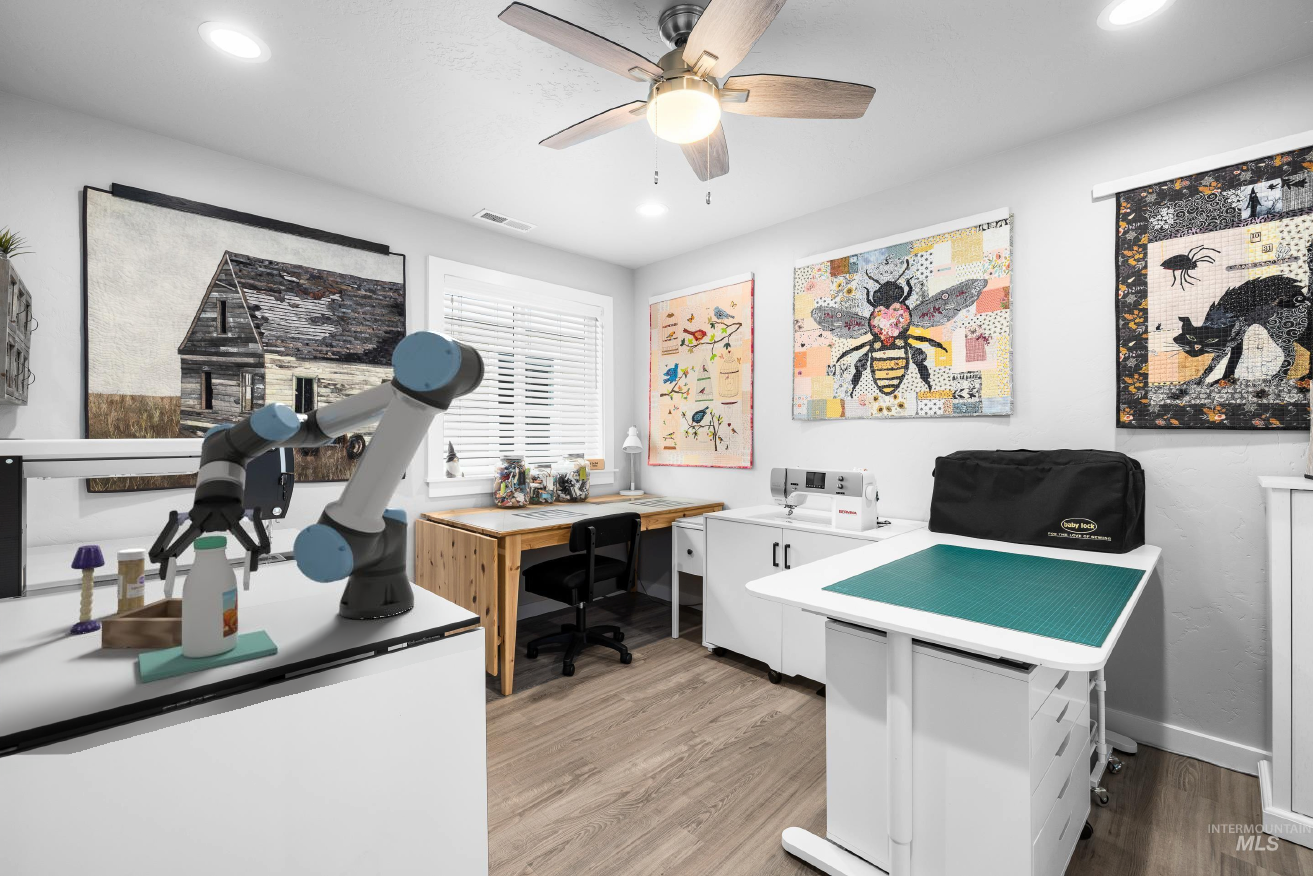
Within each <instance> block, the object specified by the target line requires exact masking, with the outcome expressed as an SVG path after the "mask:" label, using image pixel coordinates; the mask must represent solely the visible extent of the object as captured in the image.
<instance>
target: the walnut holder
mask: <svg viewBox="0 0 1313 876" xmlns="http://www.w3.org/2000/svg"><path fill="white" fill-rule="evenodd" d="M180 646H182V597H172V599H166V598H163V599H162V598H161V599H159V600H157V601H153V602H152V603H148V604H144V606H142V607H139V608H136V609H133V610H130V611H128V612H125V613H122V614H119V613H118V614H116V615H114V616H113V615H112V616H111V617H108V618H104V619H103V620H101V647H130V648H129V649H169V648H171V647H172V648H175V647H180ZM101 647H100V648H101Z"/></svg>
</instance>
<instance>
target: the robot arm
mask: <svg viewBox="0 0 1313 876" xmlns="http://www.w3.org/2000/svg"><path fill="white" fill-rule="evenodd" d="M391 366H392V368H393V370H392V372H393V374H394V375H393V377H392V379H391V380H388V381H386V382H384V383H380V384H378V385H375V386H373V387H370V388H367V389H365V390H363V391H359V392H357V393H354V394H352V395H348V396H347V397H343V398H342V399H339V400H336V401H333V402H331V403H329V404H325V405H324V406H321V407H319V408H315V409H313V410H311V411H307V412H304V413H301V412H299V413H298V412H295V411H294V409H292V408H291V407H290V406H288V405H285V404H284V403H282V402H277V401H276V402H271V403H268V404H267V405H265V406H262V407H259V409H256V410H255V411H254V412H252V413H251V414H250V415H248V416H246V417H244V418H243V419H242V420H241V421H238V422H237V423H235V424H233V423H223V424H221V425H220V424H219V425H218V424H217V425H216V424H215V426H212V427H210V428H209V429H208V430H207V431H206V433H205V435H204V439H203V442H202V443H201V452H200V453H201V454H200V460H199V467H198V470H199V471H198V474H197V480H196V488H195V492H194V497H193V505H192V508H191V509H190V510H189V511H187V512H186V511H185V512H178V510H176V509H175V510H173V509H172V510H170V511H169V513H168V522H166V524H165V526H163V529H162V530H161V532H160V534H159V535H158V537H157V538H156V540H155V541H154V543H153V544H152V546H151V548H150V549H149V551H148V553H147V554H148V558H149V561H150V564H154V565H155V564H159V569H158V570H159V571H158V576H159V579H160V581H164V587H163V593H164V597H165V598H166V599H172V598H173V593H174V587H175V581H176V574H177V571H178V570H177V569H178V563H177V560H178V558H179V557H180V556H181V555H182V554H183V553H184V552H185V550H187V549H188V548H189V547H190V546H191V545H193V544H194V540H195V539H197V538H201V537H202V536H203V535H204V533H206V534H209V533H215V532H220V533H222V532H229V533H230V534H231V535H232V536H234V537H235V539H236V540H237V541H238V542H239V544H240V545H241V546H242V548H243V549H245V553H244V555H245V556H244V565H243V566H244V567H243V577H242V578H243V579H242V580H243V581H242V584H243V585H242V586H243V591H246V592H247V591H250V582H251V581H250V580H251V572H252V573H254V572H258V570H259V561H260V559H259V558H260V557H261V556H262V555H269V554H271V553H272V552H271V551H272V548H271V547H272V546H271V544H272V543H271V542H270V539H269V537H268V533H267V531H266V528H265V525H264V523H263V520H262V518H263V517H262V513H263V512H262V507H261V506H256V507H254V508H253V509H246V508H245V507H244V499H245V488H246V487H245V486H246V476H247V475H246V474H247V465H248V463H249V462H251V461H253V460H254V459H257V458H258V457H260V456H262V455H263V454H264V453H266V452H267V451H270V450H272V449H274V448H275V449H276V448H277V449H279V448H281V449H282V448H319V447H324V446H328V445H331V444H332V443H333V442H334V441H335V440H336V438H338V437H341V436H343V435H347V434H349V433H352V432H354V431H358V430H360V429H362V428H365V427H368V426H370V425H374V424H375V423H376V424H377V423H378V424H377V426H376V428H375V429H374V431H373V434H372V436H371V437H370V439H369V441H368V443H367V445H366V447H365V448H364V451H363V452H362V455H361V456H360V458H359V460H358V462H357V464H356V466H355V467H354V469H353V471H352V474H351V475H350V477H349V479H348V481H347V482H346V485H345V486H344V488H343V490H342V493H341V494H340V497H339V498H338V499H337V500H334V501H330V502H328V503H327V504H326V505H325V507H324V509H323V510H322V512H321V514H320V516H319V518H318V520H317V522H316V523H314V524H310V525H308V526H307V527H305V528H303V529H302V530H301V531H300V532H299V533H298V535H297V536H296V537H295V540H294V542H293V547H292V549H293V550H292V552H293V553H292V554H293V559H294V560H295V561H296V566H297V568H298V570H299V571H300V572H301V573H302V574H303V575H304V576H305V577H306V578H308V579H309V580H311V581H313V582H316V583H320V584H328V583H333V582H337V581H342V580H345V579H346V578H347V581H346V584H345V587H344V589H343V592H342V595H341V598H340V601H339V604H338V605H339V609H338V611H339V613H340V614H339V613H338V614H339V616H341V617H342V616H344V617H343V618H345V617H348V618H347V619H350V618H374V617H380V616H388V615H393V614H396V613H399V612H402V611H405V610H408V609H409V608H411V607H412V606H413V605H414V606H415V594H414V591H413V588H412V585H411V583H410V580H409V577H408V574H407V552H408V551H407V549H408V547H407V546H408V545H407V543H408V542H407V541H408V524H409V523H408V517H407V512H406V510H405V509H403V508H398V507H388V505H389V504H390V502H391V500H392V498H393V495H394V494H395V492H396V491H397V489H398V486H399V485H400V483H401V480H403V477H404V475H405V473H406V471H407V470H408V467H409V466H410V464H411V463H412V460H413V458H414V456H416V455H415V454H416V453H417V450H418V449H419V447H420V445H421V444H422V441H423V440H424V438H425V436H426V433H427V432H428V430H429V428H430V427H431V425H432V423H433V421H434V419H435V417H436V415H438V414H442V413H445V412H447V411H448V409H449V407H450V405H451V404H452V402H453V400H454V399H457V398H460V397H464V396H466V395H469V394H471V393H472V392H474V391H475V390H476V389H477V388H479V386H480V385H481V383H482V382H483V380H484V376H485V363H484V360H483V358H482V355H481V354H480V353H479V351H478V350H477V349H476V348H475V347H473V346H472V345H470V344H469V343H466V342H464V341H460V340H458V339H456V338H453V337H451V336H450V335H447V334H445V333H442V332H438V331H431V330H418V331H416V332H413V333H410V334H408V335H406V336H405V337H404V338H402V339H400V341H399V342H398V344H397V345H396V346H395V348H394V351H393V353H392V356H391ZM244 518H247V519H248V521H250V522H252V523H253V524H252V525H253V529H254V531H255V534H256V536H257V539H258V542H259V544H257V543H256V542H255V541H254V540H253V538H252V537H251V536H250V535H249V533H248V532H247V531H246V530H245V528H244V527H243V526H242V525H241V523H240V522H241V520H243V519H244ZM188 520H190V522H191V523H190V525H189V526H188V528H187V529H185V531H184V532H183V533H182V534H180V536H178V538H177V539H176V540H175V541H174V542H173V543H171V542H172V541H173V540H174V537H175V536H176V535H177V533H178V531H179V528H180V527H181V526H183V525H184V524H185V522H186V521H188ZM170 544H171V545H170ZM165 598H164V599H165ZM414 606H413V607H414ZM413 607H412V608H413ZM412 608H411V609H412ZM408 611H409V610H408ZM393 616H394V615H393Z"/></svg>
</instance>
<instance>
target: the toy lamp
mask: <svg viewBox="0 0 1313 876" xmlns="http://www.w3.org/2000/svg"><path fill="white" fill-rule="evenodd" d="M105 564H106V563H105V559H104V556H103V553H102V550H101V547H100V545H95V544H94V545H93V544H89V545H82V546H79V547H78V549H77V550H76V552H75V555H74V557H73V560H72V562H71V567H70V568H71V569H73V570H81V574H82V577H81V582H82V583H81V586H80V587H81V593H80V598H81V599H80V603H79V604H80V607H79V614H80V615H79V618H78V620H79V621H77V622H76V623H74V624H72V627H70V630H69V633H70V632H71V633H70V634H72V633H82V634H84V633H83V632H88V633H91V632H90V631H92V632H96V631H98V630H100V629H102V626H101V624H100V622H99V621H97V620H95V619H92V611H93V606H92V604H93V601H94V599H93V596H94V590H93V589H94V580H95V576H94V573H95V569H96V568H102V567H104V566H105ZM95 630H96V631H95Z"/></svg>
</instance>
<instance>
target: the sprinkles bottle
mask: <svg viewBox="0 0 1313 876" xmlns="http://www.w3.org/2000/svg"><path fill="white" fill-rule="evenodd" d="M146 551H147V550H146V549H145V548H128V549H122V550H119V551H117V555H116V560H117V584H116V585H117V586H116V587H117V596H116V597H117V610H116V613H117V614H118V615H119V614H122V613H125V612H128V611H130V610H133V609H136V608H139V607H142V606H145V594H146V593H145V592H146V591H145V589H146V587H145V586H146V582H145V581H146V579H145V578H146V577H145V576H146V575H145V560H146V557H147V555H146V554H147V552H146Z"/></svg>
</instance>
